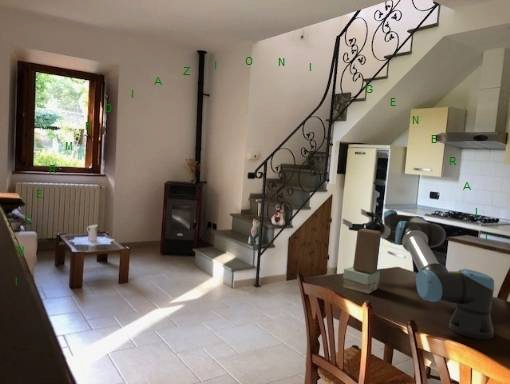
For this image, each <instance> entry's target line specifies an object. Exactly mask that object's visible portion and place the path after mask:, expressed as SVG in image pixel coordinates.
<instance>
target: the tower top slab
mask: <svg viewBox="0 0 510 384" xmlns="http://www.w3.org/2000/svg"><path fill="white" fill-rule="evenodd" d="M380 276H381V271H379V270H376V271H375V272H373V273H367V272H362V271H357V270H354V269H353V266H351V267H347V268H344V269H343V276H342V278H343V279H349V280H352V281H355V282H359V283H362V284H366V285H368V284H371V283H374V282H376V281H380Z"/></svg>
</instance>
